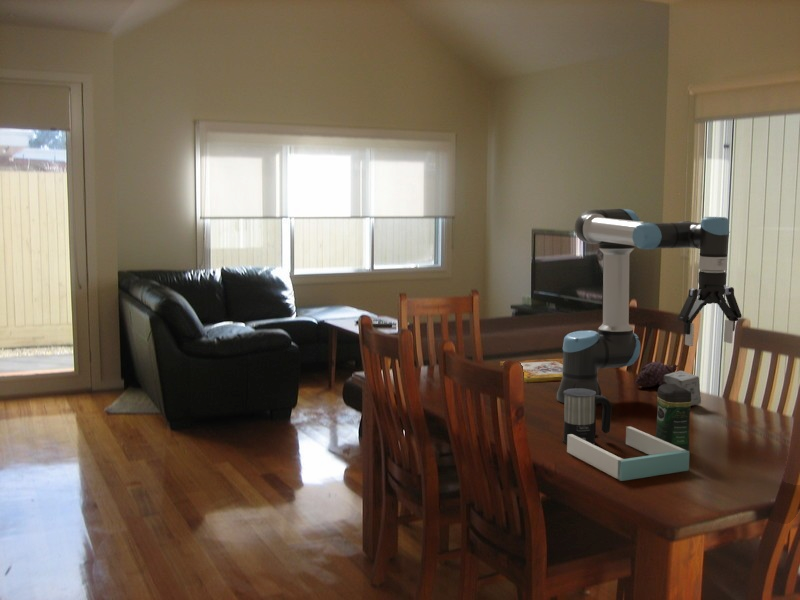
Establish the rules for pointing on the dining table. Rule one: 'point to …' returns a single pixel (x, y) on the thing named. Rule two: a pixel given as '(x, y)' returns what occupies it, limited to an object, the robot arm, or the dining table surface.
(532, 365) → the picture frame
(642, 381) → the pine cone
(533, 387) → the dining table surface
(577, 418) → the milk frother
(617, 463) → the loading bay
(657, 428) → the coffee jar
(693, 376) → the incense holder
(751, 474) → the dining table surface
